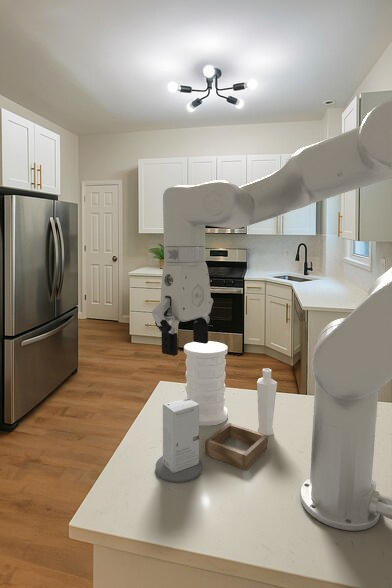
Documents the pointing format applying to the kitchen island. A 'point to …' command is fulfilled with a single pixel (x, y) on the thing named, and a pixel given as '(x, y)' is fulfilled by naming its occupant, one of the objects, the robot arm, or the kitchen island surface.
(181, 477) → the coaster
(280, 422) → the kitchen island surface
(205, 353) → the decorative container
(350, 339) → the robot arm
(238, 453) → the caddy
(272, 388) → the white faceted vase
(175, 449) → the skincare box
